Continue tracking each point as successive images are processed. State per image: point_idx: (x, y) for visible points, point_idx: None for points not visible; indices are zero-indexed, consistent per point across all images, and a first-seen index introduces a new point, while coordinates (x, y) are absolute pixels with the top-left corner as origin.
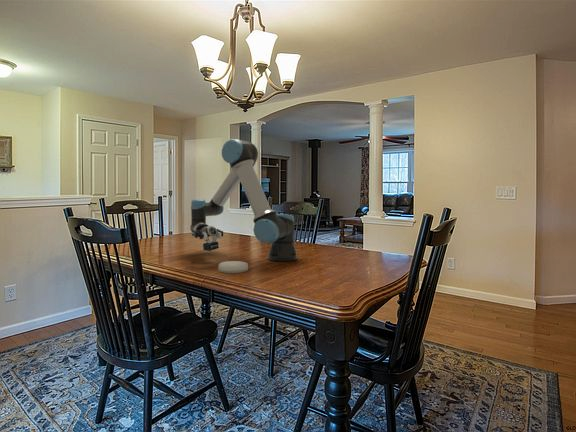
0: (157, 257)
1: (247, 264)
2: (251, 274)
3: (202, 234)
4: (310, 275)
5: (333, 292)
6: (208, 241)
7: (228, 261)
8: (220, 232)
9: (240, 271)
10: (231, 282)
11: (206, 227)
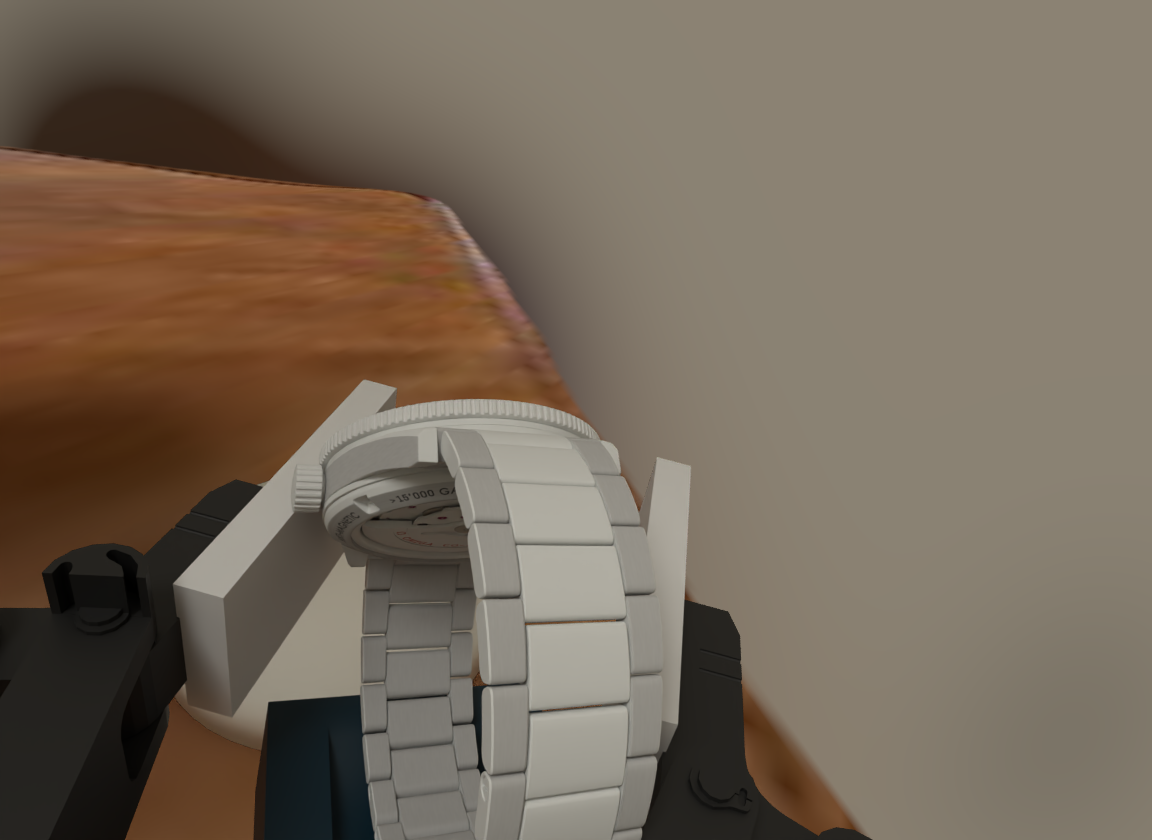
0: None
1: None
2: None
3: (708, 606)
4: (98, 286)
5: (320, 215)
6: (450, 832)
7: (265, 700)
8: (23, 637)
9: None
10: None
11: (554, 597)
